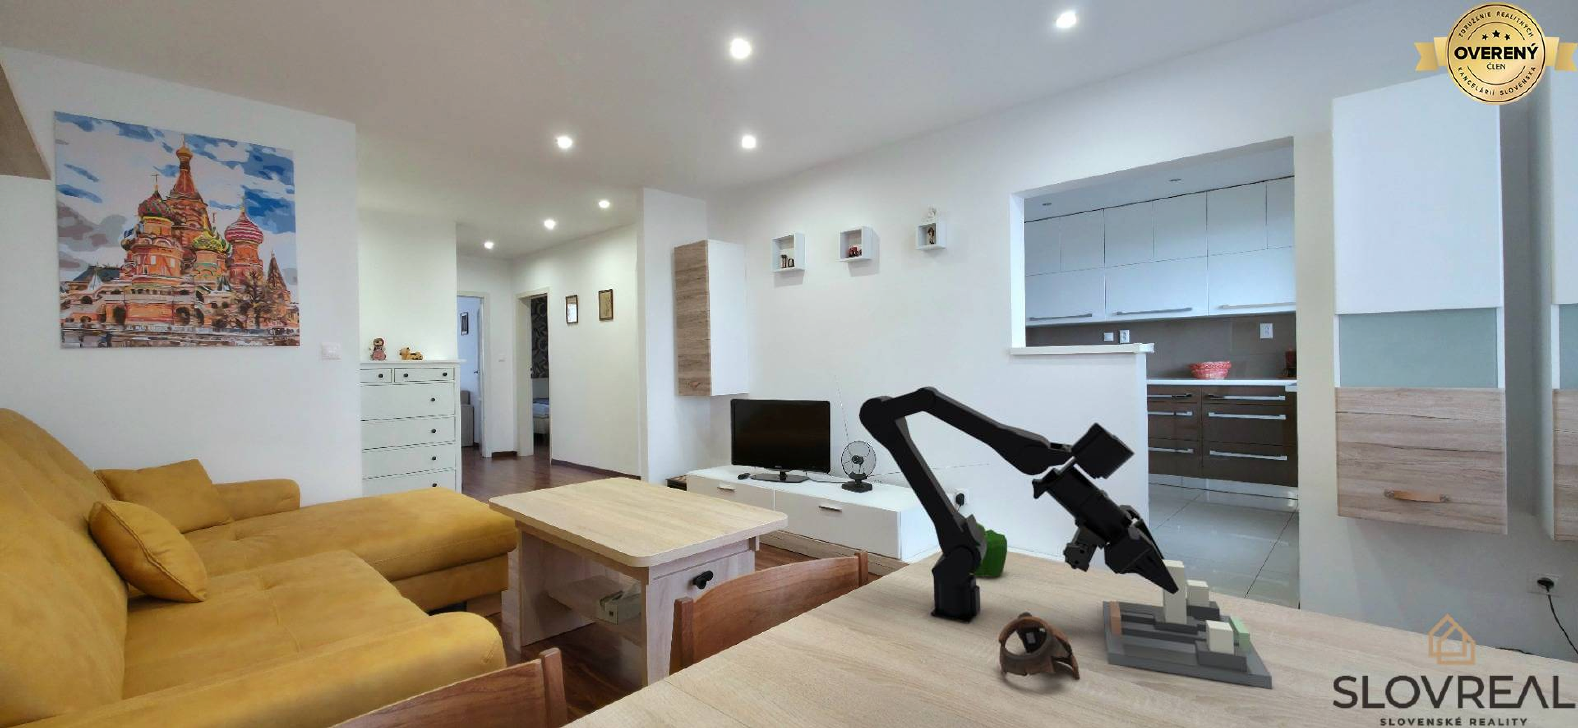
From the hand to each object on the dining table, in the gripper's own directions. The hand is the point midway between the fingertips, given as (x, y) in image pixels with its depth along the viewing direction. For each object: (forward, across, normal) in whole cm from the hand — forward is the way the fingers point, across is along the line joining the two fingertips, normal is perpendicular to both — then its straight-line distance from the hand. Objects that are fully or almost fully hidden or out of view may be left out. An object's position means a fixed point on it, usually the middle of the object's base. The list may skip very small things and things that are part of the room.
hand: (1171, 580), depth 89 cm
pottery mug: (-6, +15, -19) cm, 25 cm away
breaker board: (+6, 0, -6) cm, 9 cm away
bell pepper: (-14, -21, -27) cm, 37 cm away
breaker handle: (+5, 0, -5) cm, 7 cm away
